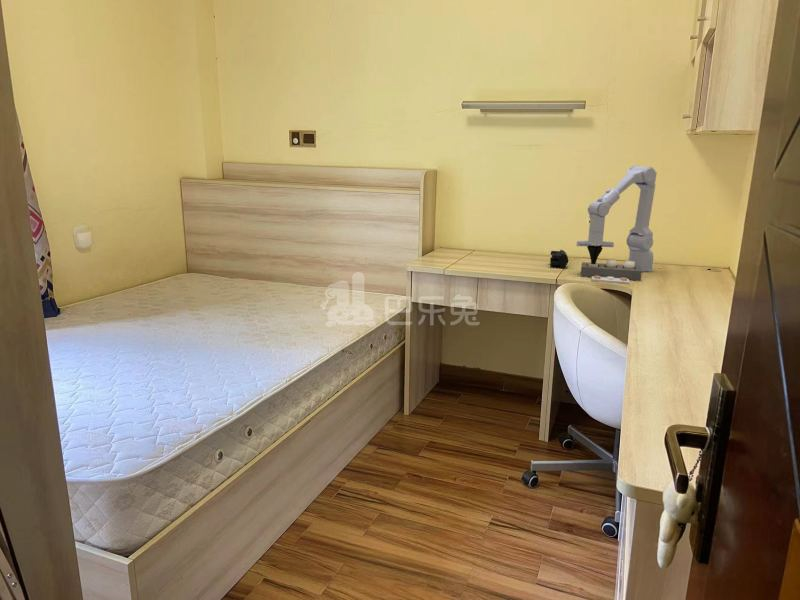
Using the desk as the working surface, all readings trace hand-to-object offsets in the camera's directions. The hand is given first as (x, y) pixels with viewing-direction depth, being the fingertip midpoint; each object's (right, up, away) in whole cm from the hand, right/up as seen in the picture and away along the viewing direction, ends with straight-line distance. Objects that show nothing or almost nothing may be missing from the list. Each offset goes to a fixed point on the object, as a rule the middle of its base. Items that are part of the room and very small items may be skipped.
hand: (593, 263), depth 251 cm
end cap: (-10, 0, +17) cm, 20 cm away
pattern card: (+4, -7, -10) cm, 13 cm away
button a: (+13, -3, -4) cm, 14 cm away
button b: (+7, -3, -2) cm, 7 cm away
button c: (0, -4, +1) cm, 4 cm away
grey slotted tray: (+7, -5, -1) cm, 8 cm away
